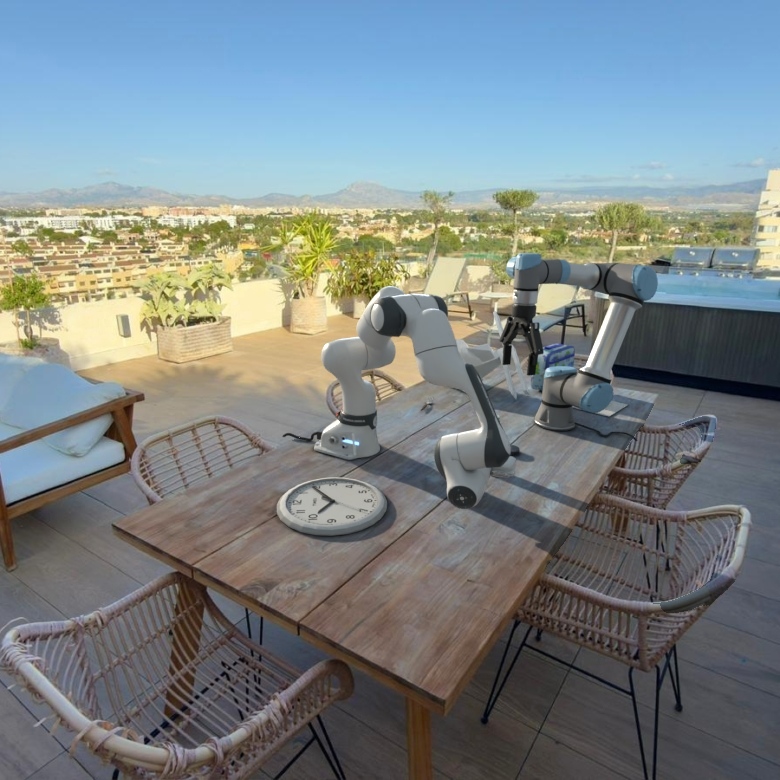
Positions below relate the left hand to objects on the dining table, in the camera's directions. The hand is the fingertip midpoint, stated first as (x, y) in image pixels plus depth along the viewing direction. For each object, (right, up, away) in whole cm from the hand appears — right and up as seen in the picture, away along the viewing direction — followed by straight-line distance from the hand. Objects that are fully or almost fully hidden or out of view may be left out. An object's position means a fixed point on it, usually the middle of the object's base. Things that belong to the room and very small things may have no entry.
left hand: (482, 450), depth 152 cm
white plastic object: (+15, +16, +91) cm, 94 cm away
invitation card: (+65, +10, +74) cm, 99 cm away
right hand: (+15, +24, +18) cm, 34 cm away
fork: (-11, +10, +71) cm, 73 cm away
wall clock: (-43, -14, -9) cm, 46 cm away
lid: (+14, -3, +26) cm, 30 cm away
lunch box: (+51, +18, +100) cm, 114 cm away
